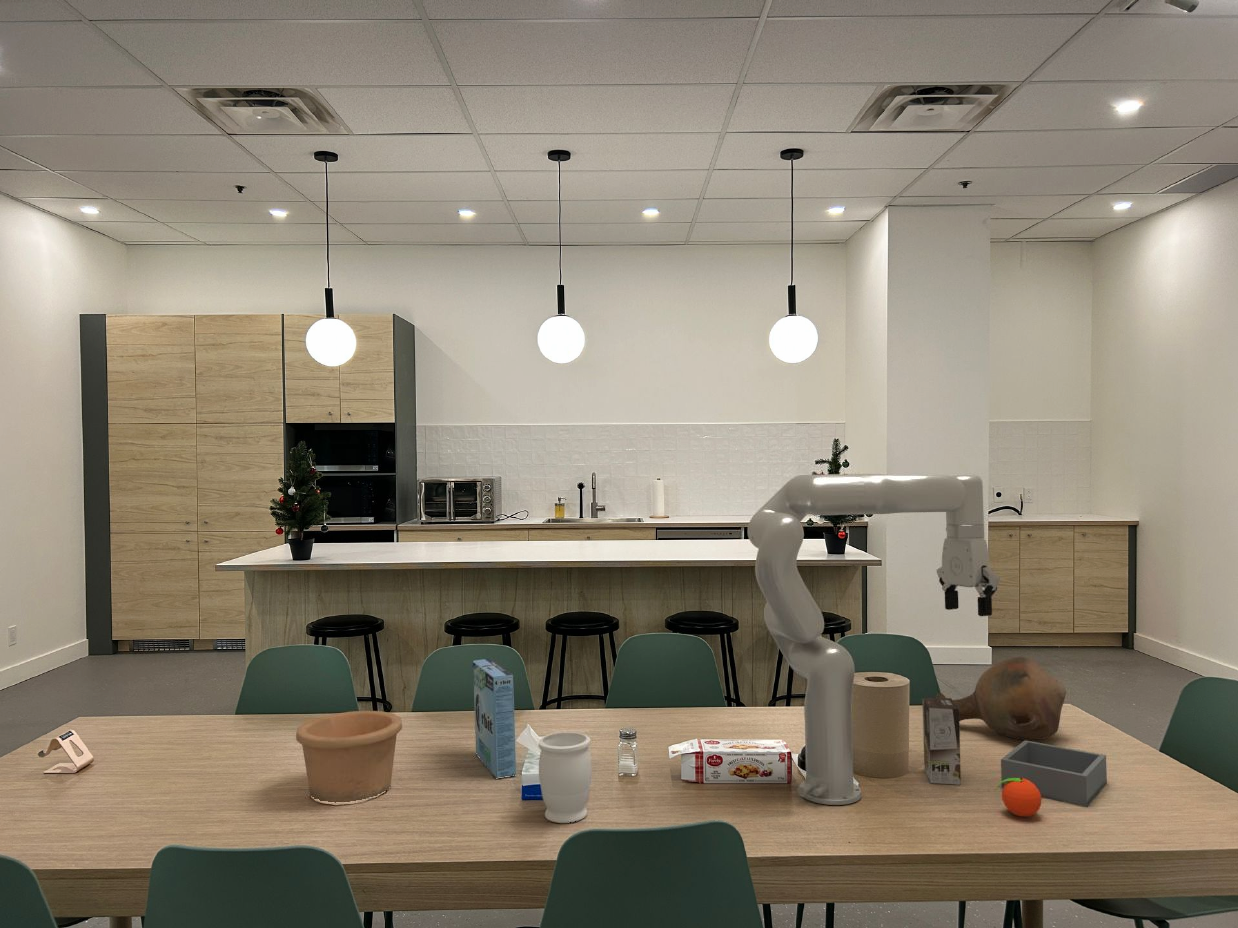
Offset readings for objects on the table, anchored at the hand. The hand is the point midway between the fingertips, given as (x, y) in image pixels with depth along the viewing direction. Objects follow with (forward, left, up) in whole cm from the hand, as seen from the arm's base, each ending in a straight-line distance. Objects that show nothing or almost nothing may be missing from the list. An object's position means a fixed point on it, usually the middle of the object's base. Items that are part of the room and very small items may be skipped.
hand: (968, 612), depth 182 cm
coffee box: (-2, +6, -36) cm, 37 cm away
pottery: (-88, +101, -36) cm, 139 cm away
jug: (+36, +6, -36) cm, 51 cm away
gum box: (-58, +89, -36) cm, 112 cm away
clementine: (-13, -13, -36) cm, 41 cm away
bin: (+7, -14, -36) cm, 39 cm away
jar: (-68, +55, -36) cm, 95 cm away
